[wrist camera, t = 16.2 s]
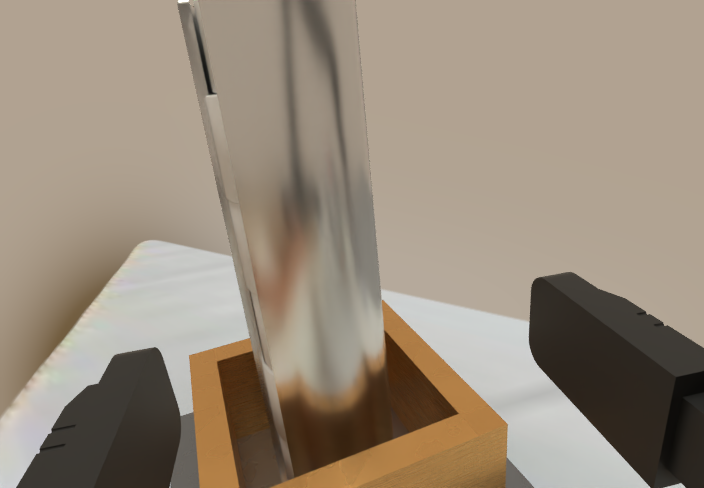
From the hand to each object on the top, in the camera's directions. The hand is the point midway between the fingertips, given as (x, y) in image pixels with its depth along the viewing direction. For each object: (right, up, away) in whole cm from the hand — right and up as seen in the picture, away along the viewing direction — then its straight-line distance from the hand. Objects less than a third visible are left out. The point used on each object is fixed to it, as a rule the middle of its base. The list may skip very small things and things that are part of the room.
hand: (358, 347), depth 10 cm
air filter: (-1, -11, +16) cm, 19 cm away
